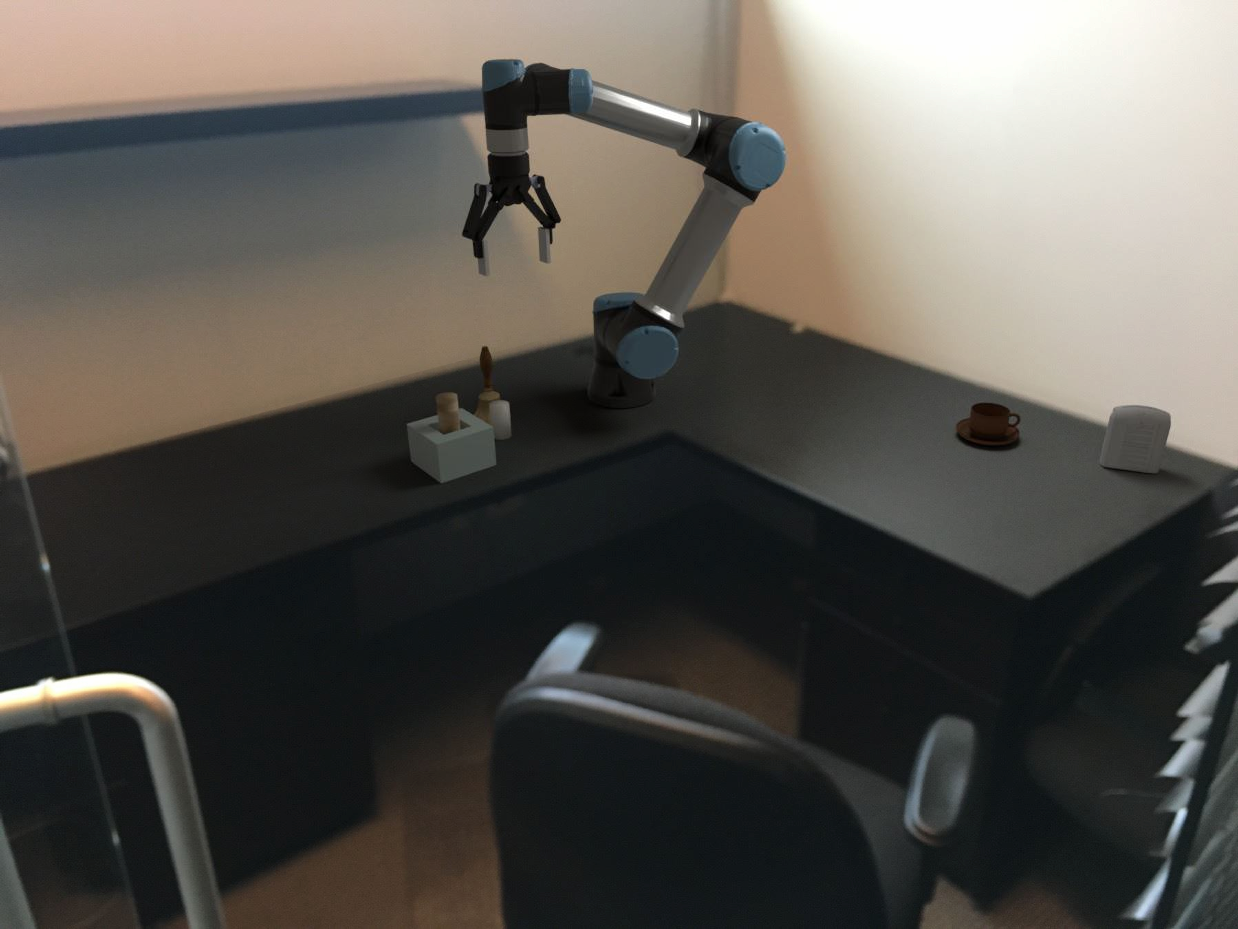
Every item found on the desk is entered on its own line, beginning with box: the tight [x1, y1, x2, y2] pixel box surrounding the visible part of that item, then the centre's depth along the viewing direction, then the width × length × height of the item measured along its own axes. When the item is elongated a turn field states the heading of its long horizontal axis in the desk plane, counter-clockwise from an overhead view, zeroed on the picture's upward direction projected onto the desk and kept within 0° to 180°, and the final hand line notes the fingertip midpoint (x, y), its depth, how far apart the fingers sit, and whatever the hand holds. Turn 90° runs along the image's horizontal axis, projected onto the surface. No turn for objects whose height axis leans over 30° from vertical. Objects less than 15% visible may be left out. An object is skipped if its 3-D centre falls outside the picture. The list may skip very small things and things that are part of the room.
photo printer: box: [1098, 404, 1172, 474], centre depth 184 cm, size 10×4×12 cm, turn 70°
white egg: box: [489, 399, 512, 441], centre depth 203 cm, size 4×4×7 cm
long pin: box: [435, 391, 461, 435], centre depth 190 cm, size 4×4×14 cm
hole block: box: [406, 407, 497, 484], centre depth 191 cm, size 12×12×8 cm
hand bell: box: [473, 345, 512, 425], centre depth 209 cm, size 8×8×16 cm
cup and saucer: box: [955, 402, 1022, 446], centre depth 198 cm, size 12×12×6 cm
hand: (515, 268), depth 189 cm, fingers open, 13 cm apart
